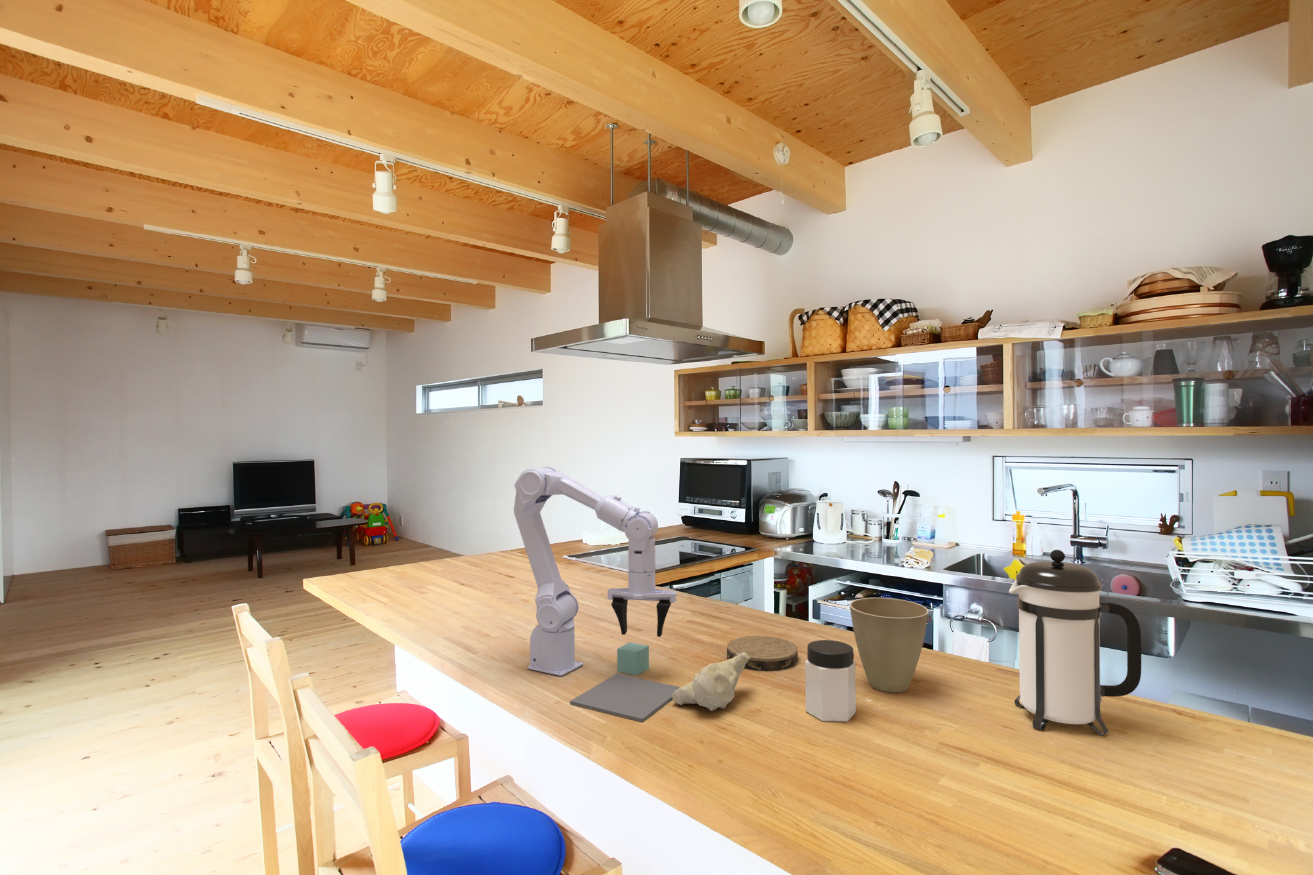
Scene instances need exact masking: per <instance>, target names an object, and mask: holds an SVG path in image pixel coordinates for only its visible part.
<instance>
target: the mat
mask: <svg viewBox="0 0 1313 875" xmlns="http://www.w3.org/2000/svg"><path fill="white" fill-rule="evenodd" d="M680 687H681V686H678V685H673V684H669V683H662V682H658V681H653V680H650V679H649V680H648V679H645V678H641V677H636V676H632V675H625V674H622V673H621V674H620V673H615V674H613V675H612V676H610V677H608V678H607V679H605V680H603V681H602V682H600V683H598V684H597V685H595V686H593V687H591V688H589V689H588V690H586V691H584V692H583V693H581V694H579V695H578V696H576V697H574V698H572V699H571V700H570V701H569V704H570V705H572V706H576V707H580V708H584V709H588V710H591V711H597V712H599V713H603V714H609V715H613V716H616V717H619V718H624V719H628V720H632V721H635V722H639V723H643V722H645V721H646V720H647V719H649V718H650V717H651V716H653V715H654V714H655V713H657V712H658V711H659V710H661V709H662V708H663V707H664V706H666V705H667V704H669V703H671V701H674V700H673V698H672V694H673V693H674V692H675V691H676V690H678V689H679V688H680Z"/></svg>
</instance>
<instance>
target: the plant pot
mask: <svg viewBox="0 0 1313 875" xmlns="http://www.w3.org/2000/svg"><path fill="white" fill-rule="evenodd" d="M849 610H850V617H851V623H852V629H853V634H854V638H855V643H856V646H857V651H858V654H859V657H860V661H861V664H862V667H863V670H864V673H865V676H866V678H867V682H868V684H869V685H870V687H872V688H873V689H876V690H878V691H880V692H885V693H895V694H896V693H903V692H906V691H907V690H908V689H909V686H910V685H911V681H913V676H914V674H915V671H916V669H917V666H918V662H919V660H920V656H921V652H922V650H923V649H922V648H923V645H924V641H925V636H926V630H927V623H928V618H929V612H930V611H929V609H928V608H927V607H925V606H924V605H922V604H920V603H917V602H915V601H908V600H907V599H906V600H905V599H900V598H899V599H898V598H893V597H865V598H857V599H855V600H852V601H851V602H850V603H849Z"/></svg>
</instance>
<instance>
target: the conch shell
mask: <svg viewBox="0 0 1313 875" xmlns="http://www.w3.org/2000/svg"><path fill="white" fill-rule="evenodd" d="M737 654H738V653H736V655H737ZM749 659H750V657H749V656H748V654H747V653H745V652H743V653H741V654H738V655H737V656H735V657H733V658H732V659H726V660H723V661H719V662H712V663H709V664H707V665H706V666H704V667H702V668H701V669H699V670H698V672H697V673H695V674H694V675H693V679H692V680H691V681H690V682H688V683H686V684H684V685H682V686H679V687H680V688H679V689H678V690H676V691H675V692H674V693H673V694H672V698H673V700H672V701H673V702H674V703H675V704H677V705H680V706H683V705H685V704H686V705H687V704H688V705H697V704H698V706H700V707H705V708H706V709H708V710H709V711H711V712H713V711H715V710H717V708H718V709H719V708H720V709H721V710H724V709H726V707H727V705H728V704H729V703H730V702H732V701H733V699H734V698H735V689H736V687H737V685H738V682H739V678H740V676H741V674H742V672H743V671H744V670H745V669H744V667H745V664H746V663H747V662H748V660H749Z"/></svg>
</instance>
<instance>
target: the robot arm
mask: <svg viewBox="0 0 1313 875" xmlns="http://www.w3.org/2000/svg"><path fill="white" fill-rule="evenodd" d="M514 489H515V491H516V492H515V497H514V505H513V514H514V517H515V520H516V525H517V526H518V527H517V528H518V530H519V534H520V536H521V539H522V542H523V546H524V549H525V552H526V554H527V558H528V561H529V564H530V568H531V571H532V573H533V576H534V580H535V583H536V587H537V591H536V595H535V598H534V602H535V605H536V612H535V616H536V617H535V618H536V621H537V624H538V625H536V626H535V627H534V628H533V629H532V631H531V634H530V638H529V639H530V640H529V665H528V666H527V669H529V670H532V671H535V672H537V671H538V672H541V673H545V674H550V675H555V676H560V677H562V676H565V675H566V674H569V673H570V672H572V671H574V670H576V669H579V668H580V667H582V666H583V665H584V663H583V662H582V661H578V660H576V657H575V656H576V653H575V651H576V650H575V648H576V646H575V645H576V644H575V641H576V640H575V639H576V638H575V637H576V636H575V630H576V628H575V620H574V618H575V617H576V616H577V614H578V612H579V609H580V608H579V607H580V606H579V602H578V599H577V598H576V596H575V595H574V594H573V593H572V591H571V590H570V587H569V585H568V584H567V583H566V582H565V581H563V580H562V577H561V574H560V571H559V568H558V565H557V562H556V558H555V556H554V551H553V550H552V546H551V543H550V540H549V537H548V534H547V530H546V527H545V524H544V521H543V518H542V515H541V512H542V510H543V508H544V506H545V504H546V503H547V501H548V500H549V499H550V498H552V496H554V495H555V496H558V495H559V496H560V495H563V496H566V497H568V498H570V499H571V500H573V501H575V502H577V503H580V504H581V505H584V506H586V507H588V508H590V509H592V510H593V511H595V514H596V517H597V519H599V520H600V521H602V522H604V523H606V524H607V525H609V526H611V527H613V528H615V529H617V530H618V531H620V532H622V533H624V535H625V537H626V538H627V540H628V549H627V551H628V552H627V553H628V555H627V556H628V557H627V558H628V560H627V562H628V563H627V564H628V572H627V574H628V575H627V576H628V577H627V578H628V582H627V583H628V584H627V585H628V587H621V588H613V587H612V588H611V587H610V588H609V589H607V600H609V601H611V600H612V601H611V603H610V604H611V608H612V609H613V612H614V613H615V615H616V618H617V620H618V624H619V627H620V632H621V636H622V635H623V636H625V635H626V634H627V633H628V604H629V603H628V601H629V600H631V601H651V602H653V601H654V602H657V604H656V617H657V624H656V628H657V629H656V636H657V638H658V637H659V638H661V637H662V636H663V632H664V631H663V629H664V624H665V621H666V618H667V614H668V611H670V610H669V609H670V607H671V605H672V603H674V604H675V603H676V601H677V591H676V590H674V591H673V590H664V589H658V588H656V538H655V535H656V533H657V532H658V529H659V522H658V519H657V518H656V516H654V515H653V514H652V513H651V512H650V511H647V510H646V511H645V510H642V511H640V510H641V507H638V506H635V507H634V506H632V505H630V504H629V503H627V502H625V501H623V500H622V497H621V496H620V495H618V494H615V495H614V496H613V495H612V494H608V495H606V496H602V495H600V494H599V493H597V492H595V491H594V490H592V489H590V488H589V487H588V486H585V485H584V484H582V483H580V481H577V480H575V478H572V477H571V476H569V475H568V474H566V473H564V472H562V471H559V470H558V471H557V469H556V468H554V467H551V466H545V467H541V468H526V469H524V470H523V471H522V472H521V473H520V475H519V476H518V478H517V479H516V481H515V482H514Z"/></svg>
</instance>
